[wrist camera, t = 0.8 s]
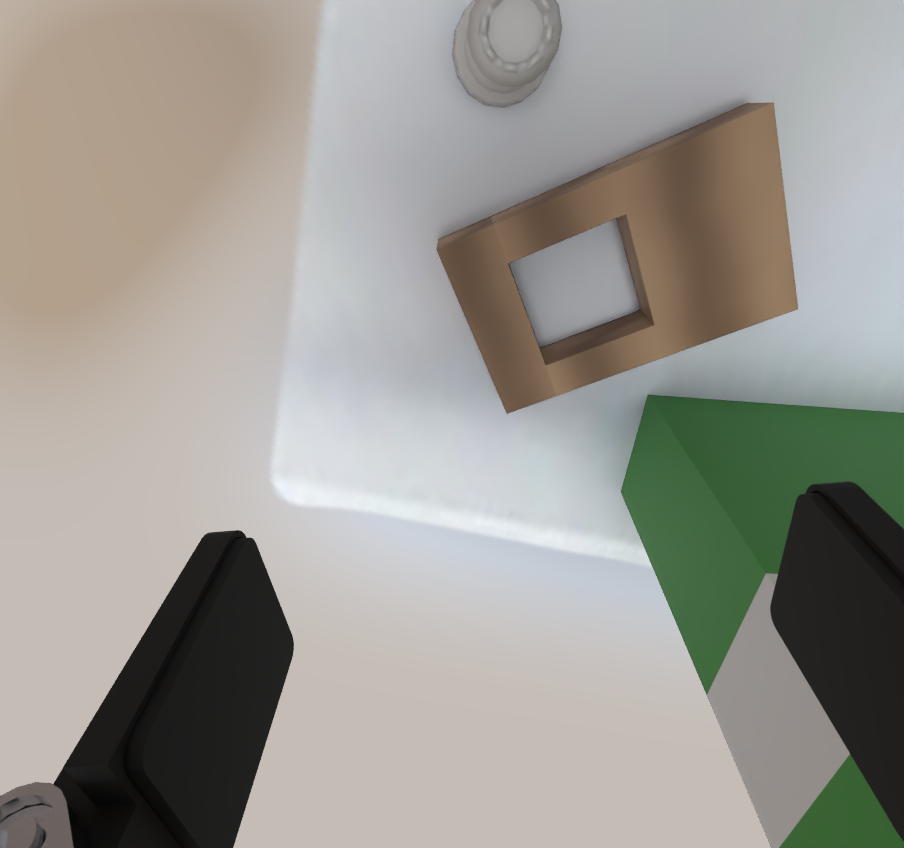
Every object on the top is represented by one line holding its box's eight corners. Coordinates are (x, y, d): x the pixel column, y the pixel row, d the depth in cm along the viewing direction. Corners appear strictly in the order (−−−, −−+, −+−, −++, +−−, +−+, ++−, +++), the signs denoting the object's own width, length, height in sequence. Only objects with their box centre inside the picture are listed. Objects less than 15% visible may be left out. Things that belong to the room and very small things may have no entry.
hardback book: (928, 414, 34) (1662, 890, 13) (874, 508, 38) (1383, 997, 17) (647, 394, 34) (951, 853, 13) (620, 491, 37) (823, 971, 17)
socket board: (747, 103, 26) (773, 102, 24) (773, 294, 30) (798, 308, 28) (438, 239, 29) (436, 249, 27) (503, 394, 34) (506, 413, 32)
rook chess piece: (564, 76, 26) (603, 63, 19) (478, 125, 27) (484, 130, 20) (526, -33, 24) (555, -93, 17) (435, 24, 25) (425, -9, 18)
